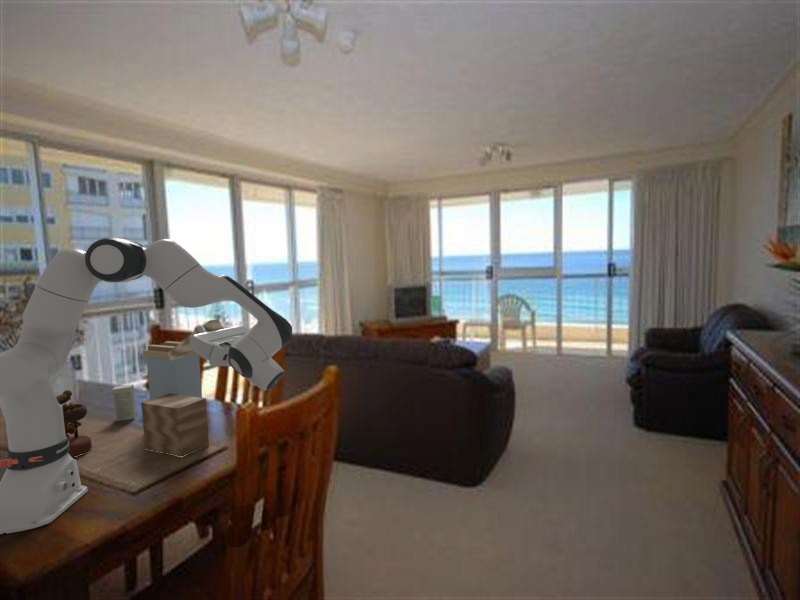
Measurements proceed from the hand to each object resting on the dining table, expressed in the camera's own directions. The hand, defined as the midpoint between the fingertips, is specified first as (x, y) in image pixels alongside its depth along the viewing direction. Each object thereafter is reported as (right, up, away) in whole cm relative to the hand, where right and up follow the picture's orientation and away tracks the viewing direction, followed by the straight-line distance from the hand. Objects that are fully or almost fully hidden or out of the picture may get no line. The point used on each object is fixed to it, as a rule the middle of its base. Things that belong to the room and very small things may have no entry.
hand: (206, 325), depth 140 cm
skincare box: (-43, -36, +32) cm, 65 cm away
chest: (-20, -36, +25) cm, 49 cm away
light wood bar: (-4, -6, +3) cm, 8 cm away
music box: (-42, -39, +3) cm, 58 cm away
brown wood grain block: (-11, -38, +4) cm, 40 cm away
